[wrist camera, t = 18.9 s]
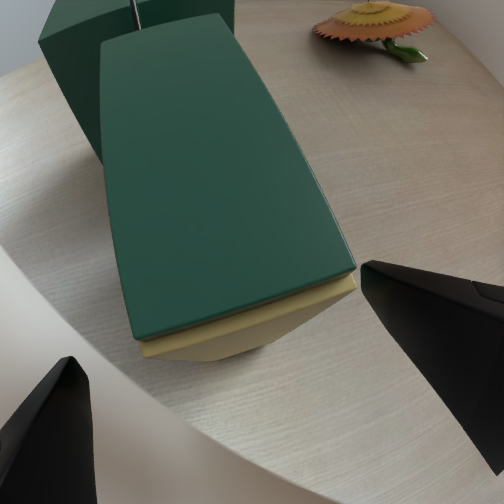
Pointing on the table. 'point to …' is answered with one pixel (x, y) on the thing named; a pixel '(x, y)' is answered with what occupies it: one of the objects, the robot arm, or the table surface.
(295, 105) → the table surface
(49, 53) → the green grooved box
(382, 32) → the flower
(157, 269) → the green book
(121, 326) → the table surface
